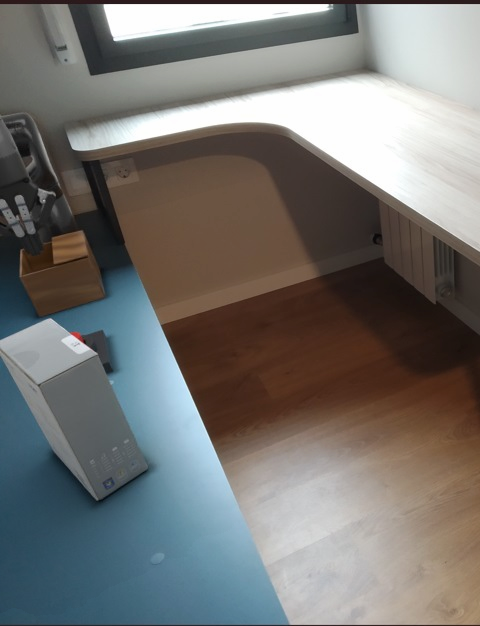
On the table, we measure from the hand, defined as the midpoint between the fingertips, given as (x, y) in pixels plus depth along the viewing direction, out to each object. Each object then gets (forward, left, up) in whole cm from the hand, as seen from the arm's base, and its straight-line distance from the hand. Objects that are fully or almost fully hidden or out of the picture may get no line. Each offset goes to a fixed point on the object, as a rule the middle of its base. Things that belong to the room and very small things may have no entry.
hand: (37, 253), depth 105 cm
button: (+7, 0, -16) cm, 17 cm away
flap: (-24, +3, -9) cm, 26 cm away
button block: (+7, 0, -19) cm, 20 cm away
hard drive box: (+35, +1, -19) cm, 40 cm away
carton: (-24, 0, -19) cm, 31 cm away
